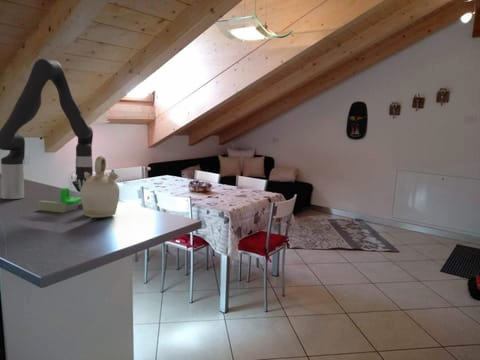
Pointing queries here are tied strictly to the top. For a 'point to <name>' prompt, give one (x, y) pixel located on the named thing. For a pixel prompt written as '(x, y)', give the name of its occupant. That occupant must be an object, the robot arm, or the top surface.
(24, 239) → the top surface
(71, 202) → the mechanical part
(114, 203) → the jug
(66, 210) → the low bench
